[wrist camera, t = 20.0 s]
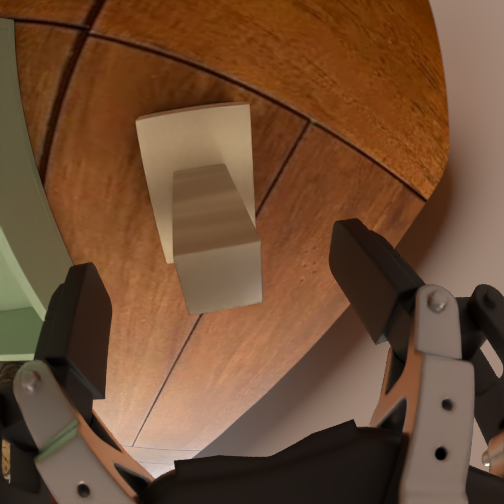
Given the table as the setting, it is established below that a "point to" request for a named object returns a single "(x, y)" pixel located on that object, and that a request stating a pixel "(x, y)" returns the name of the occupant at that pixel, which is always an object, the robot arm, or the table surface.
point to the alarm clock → (6, 460)
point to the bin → (23, 223)
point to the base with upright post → (205, 201)
